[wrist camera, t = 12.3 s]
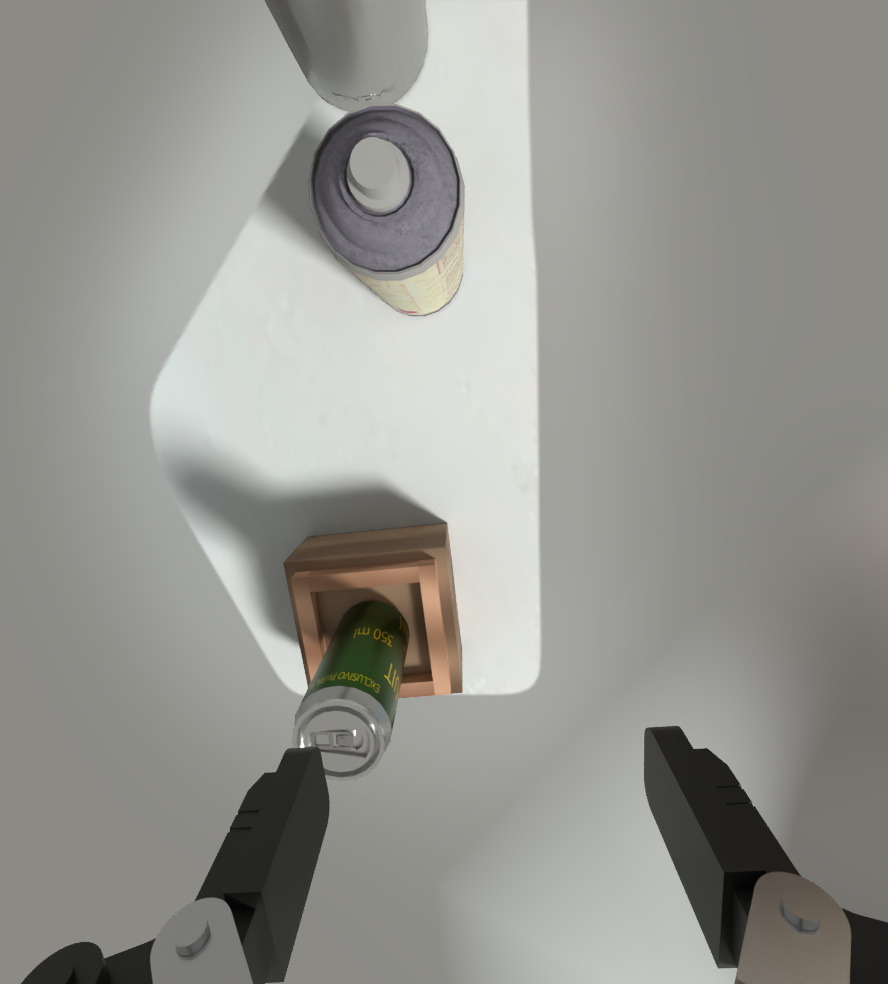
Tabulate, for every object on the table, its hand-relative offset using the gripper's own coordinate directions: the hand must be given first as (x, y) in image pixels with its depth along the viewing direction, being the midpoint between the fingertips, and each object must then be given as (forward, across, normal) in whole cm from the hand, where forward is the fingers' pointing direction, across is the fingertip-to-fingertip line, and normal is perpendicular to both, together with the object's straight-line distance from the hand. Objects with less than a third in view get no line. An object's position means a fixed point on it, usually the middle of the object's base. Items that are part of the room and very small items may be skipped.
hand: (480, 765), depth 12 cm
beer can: (+24, +8, +10) cm, 27 cm away
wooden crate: (+30, +8, +10) cm, 32 cm away
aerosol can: (+31, +2, -16) cm, 35 cm away
